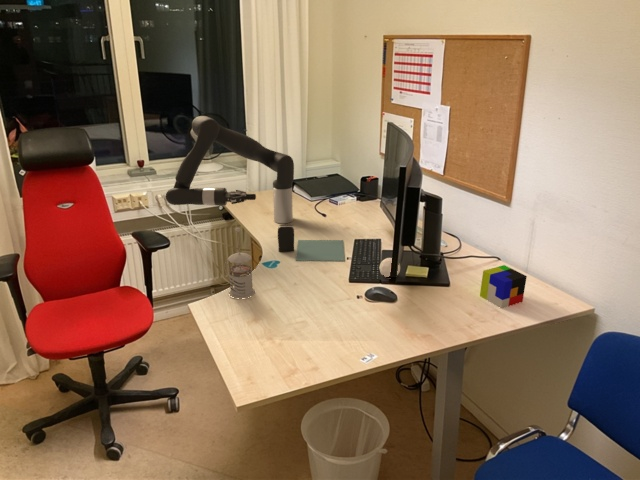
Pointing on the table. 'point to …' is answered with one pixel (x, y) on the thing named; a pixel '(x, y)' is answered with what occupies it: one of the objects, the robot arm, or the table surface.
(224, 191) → the robot arm
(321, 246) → the mat
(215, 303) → the table surface
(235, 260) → the french press
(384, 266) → the geometric ball
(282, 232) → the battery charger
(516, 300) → the puzzle toy
